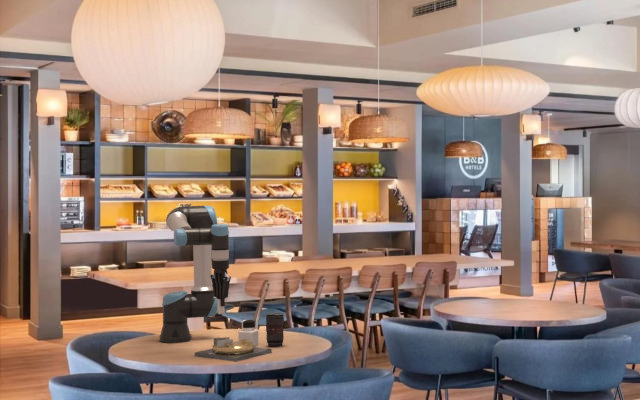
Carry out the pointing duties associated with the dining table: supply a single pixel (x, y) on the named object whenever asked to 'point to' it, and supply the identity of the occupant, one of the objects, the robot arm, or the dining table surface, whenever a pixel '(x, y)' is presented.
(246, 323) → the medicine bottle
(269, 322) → the camera lens
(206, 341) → the dining table surface
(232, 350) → the ring nut
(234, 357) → the base plate
